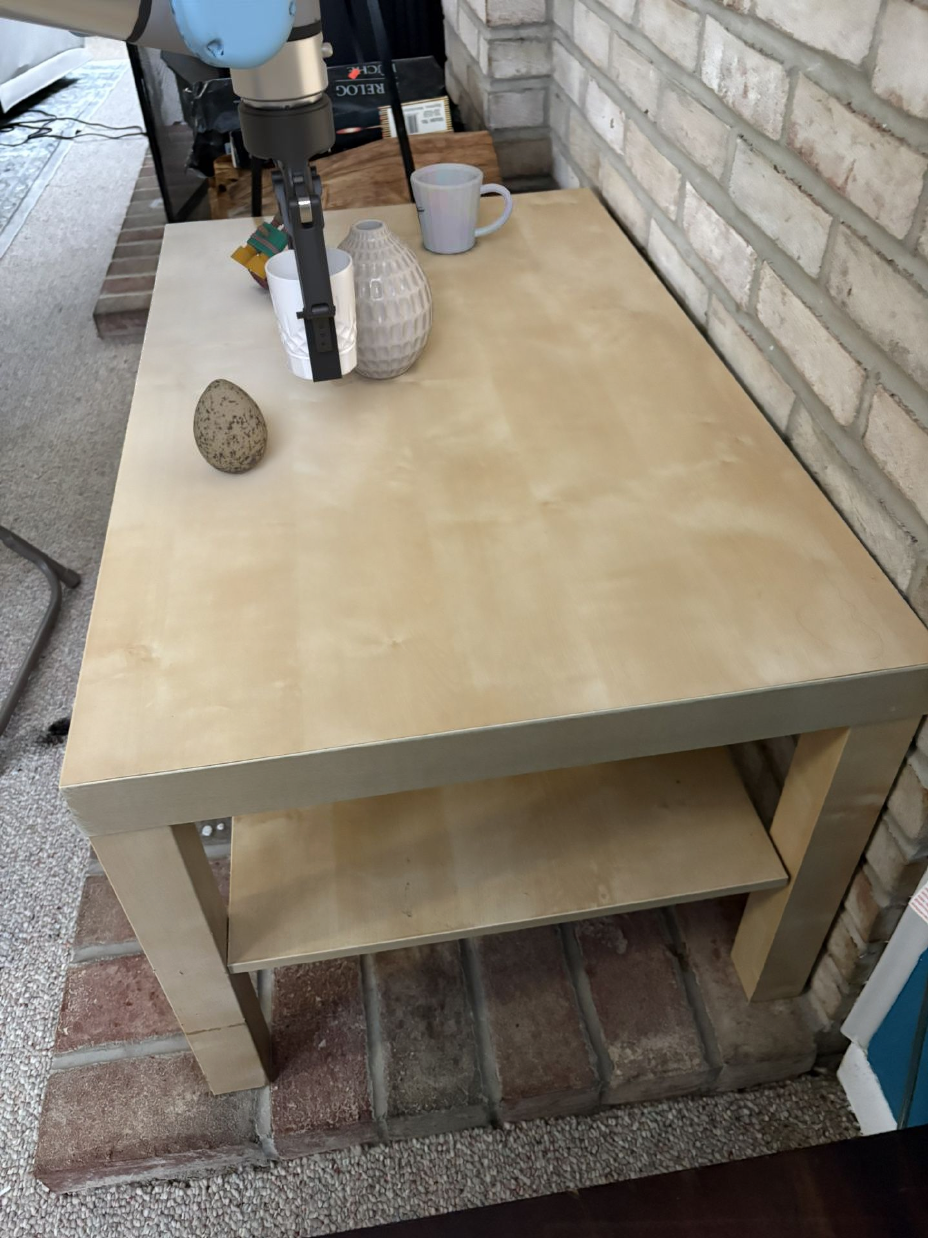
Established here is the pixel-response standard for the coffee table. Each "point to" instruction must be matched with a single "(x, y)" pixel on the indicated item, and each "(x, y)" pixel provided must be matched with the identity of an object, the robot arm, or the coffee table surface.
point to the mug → (453, 206)
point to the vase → (387, 300)
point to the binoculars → (262, 249)
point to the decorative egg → (229, 428)
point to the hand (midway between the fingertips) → (321, 358)
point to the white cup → (290, 301)
